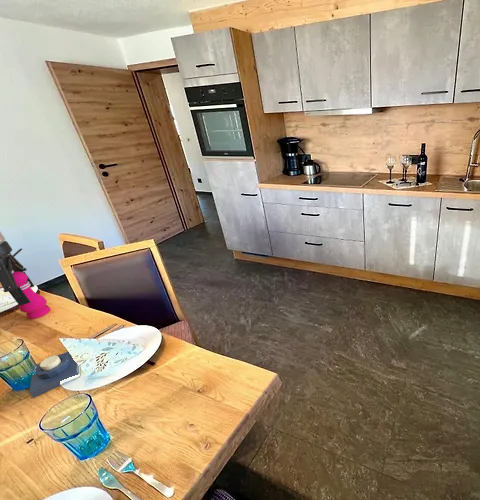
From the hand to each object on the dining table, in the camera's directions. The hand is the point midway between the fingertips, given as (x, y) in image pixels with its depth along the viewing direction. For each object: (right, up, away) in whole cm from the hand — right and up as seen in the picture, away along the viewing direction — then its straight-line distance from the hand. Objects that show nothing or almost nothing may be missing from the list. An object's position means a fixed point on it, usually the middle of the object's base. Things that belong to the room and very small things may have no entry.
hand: (27, 295), depth 107 cm
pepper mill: (0, -8, +4) cm, 9 cm away
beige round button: (+33, -17, -23) cm, 44 cm away
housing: (+33, -20, -21) cm, 44 cm away
